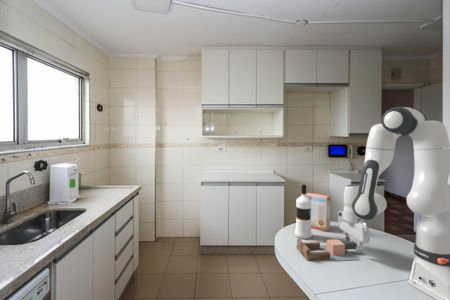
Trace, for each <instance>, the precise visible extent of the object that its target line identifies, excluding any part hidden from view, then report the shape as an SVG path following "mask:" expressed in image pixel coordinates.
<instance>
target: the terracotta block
mask: <svg viewBox="0 0 450 300" xmlns="http://www.w3.org/2000/svg"><path fill="white" fill-rule="evenodd" d="M356 244H357V242H355V241H353V240H350V241H341V240H340V239H326V245H327V250H328V251H329V252H330V253H331V254H332V255H345V250H348V251H349V250H356V249H357V247H356Z"/></svg>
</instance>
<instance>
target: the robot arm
mask: <svg viewBox="0 0 450 300" xmlns="http://www.w3.org/2000/svg"><path fill="white" fill-rule="evenodd" d="M405 136H409V137H410V138H411V140H412V144H413V156H414V157H413V158H414V159H413V160H414V175H413V179H412V184H411V185H412V186H411V189H410V191H409V193H408V194H407V196H406V205H407V207H408V208H409V209H410V211H411V212H413V213H414V214H416V215H418V216H419V215H420V218H419V220H418V221H417V224H416V227H415V228H416V231H415V243H414V245H413V254H414V257H413V262H412V266H411V271H410V273H409V274H408V277H409V279H408V281H407V282H408V285H410V286H412V287H414V288H415V289H417V290H419V291H420V292H422V293H424V294H426V295H428V296H429V297H430V298H432V299H434V300H450V183H448V181H449V177H450V137H449V134H448V130H447V128H446V126H445V124H444V123H443V122H441V121H439V120H428V118H427V116H426V114H425V113H424V112H422V111H421V110H419V109H414V108H412V107H405V106H403V107H402V106H396V107H391V108H389V109H387V110H386V111H385V112H384V114H383V115H382V117H381V123H377V124H374V125H373V126H372V127H371V128H370V130H369V133H368V136H367V140H366V147H365V155H364V161H363V167H362V170H361V175H360V176H361V177H360V181H359V183H352V184H347V185H346V186H345V187H344V190H343V204H344V206H343V210H340V211H337V215H338V218H337V219H338V223H337V225H338V228H339V229H340V230H341V231H343V236H344V240H345V242H347V241H351V238H350V236H351V237H352V238H354V239H356V240H357V243H356V249H358V250H362V247H363V244H365V243H369V242H370V241H371V237H370V236H371V235H370V229H369V225H367V223H366V222H365V221H370V220H373V218H376V216H378V215H380V214H381V213H383V212H385V211H386V209H387V207H388V203H387V200H386V198H385V197H384V196H383V194H380V193H377V192H376V189H377V184H378V180H379V177H380V175H382V173H383V172H384V171H385V170H386V169H387V168H389V167H390V165H392V162H393V159H394V157H395V156H394V155H395V150H396V144H397V140H398V138H399V137H405Z"/></svg>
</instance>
